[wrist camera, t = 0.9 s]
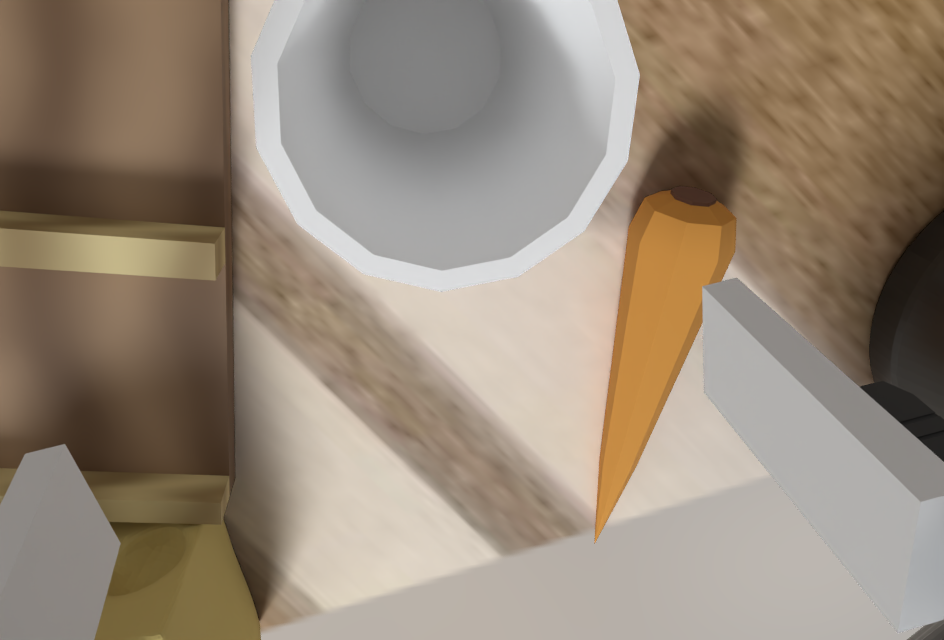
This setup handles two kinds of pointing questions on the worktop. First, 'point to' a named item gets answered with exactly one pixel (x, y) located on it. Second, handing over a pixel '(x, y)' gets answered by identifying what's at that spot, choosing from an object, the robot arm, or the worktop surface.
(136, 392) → the rack
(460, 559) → the worktop surface
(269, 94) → the foam cup
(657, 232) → the carrot
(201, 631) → the cheese
